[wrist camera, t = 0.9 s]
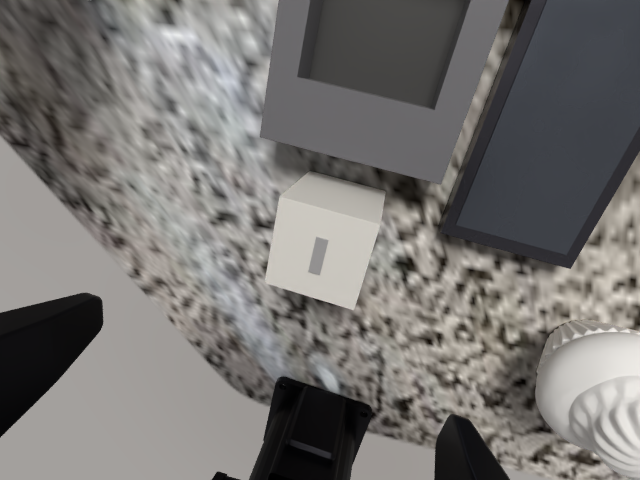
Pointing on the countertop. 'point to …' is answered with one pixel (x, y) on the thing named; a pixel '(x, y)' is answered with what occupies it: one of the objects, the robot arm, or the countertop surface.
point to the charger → (324, 238)
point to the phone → (553, 131)
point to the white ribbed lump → (594, 391)
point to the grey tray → (378, 78)
